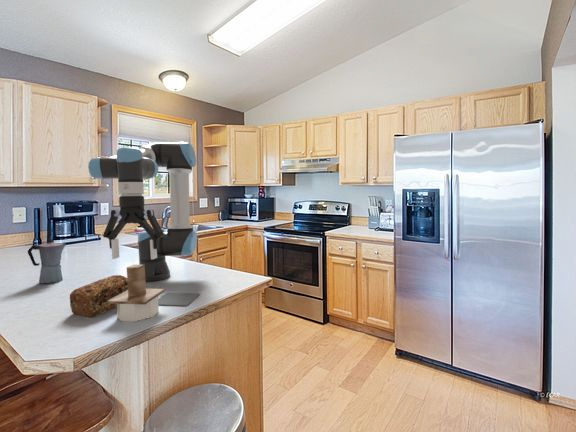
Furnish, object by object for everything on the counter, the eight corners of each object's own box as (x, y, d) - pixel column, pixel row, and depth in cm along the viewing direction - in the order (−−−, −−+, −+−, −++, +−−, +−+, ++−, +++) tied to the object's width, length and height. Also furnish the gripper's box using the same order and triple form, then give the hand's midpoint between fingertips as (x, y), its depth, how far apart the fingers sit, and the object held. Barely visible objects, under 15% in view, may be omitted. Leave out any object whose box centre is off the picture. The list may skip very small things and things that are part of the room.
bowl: (110, 320, 104) (109, 302, 104) (132, 306, 116) (131, 290, 116) (145, 321, 103) (144, 303, 102) (163, 307, 115) (162, 291, 114)
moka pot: (73, 278, 154) (70, 237, 152) (37, 287, 140) (33, 242, 138) (61, 276, 158) (58, 236, 156) (25, 285, 144) (21, 241, 142)
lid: (107, 303, 103) (104, 270, 102) (130, 290, 116) (129, 261, 115) (145, 304, 102) (143, 271, 101) (164, 291, 115) (163, 261, 114)
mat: (150, 305, 117) (150, 304, 117) (167, 293, 130) (167, 292, 130) (187, 306, 116) (187, 305, 116) (200, 294, 129) (200, 293, 129)
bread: (115, 297, 127) (114, 272, 126) (136, 300, 123) (134, 275, 122) (69, 314, 110) (66, 286, 109) (90, 319, 106) (88, 290, 105)
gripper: (88, 195, 103) (92, 260, 105) (161, 195, 101) (164, 261, 102) (104, 195, 111) (107, 255, 112) (172, 194, 108) (175, 256, 110)
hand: (134, 258), depth 107 cm, fingers open, 13 cm apart
